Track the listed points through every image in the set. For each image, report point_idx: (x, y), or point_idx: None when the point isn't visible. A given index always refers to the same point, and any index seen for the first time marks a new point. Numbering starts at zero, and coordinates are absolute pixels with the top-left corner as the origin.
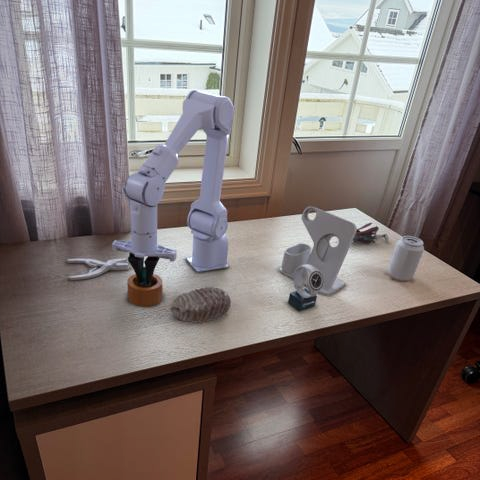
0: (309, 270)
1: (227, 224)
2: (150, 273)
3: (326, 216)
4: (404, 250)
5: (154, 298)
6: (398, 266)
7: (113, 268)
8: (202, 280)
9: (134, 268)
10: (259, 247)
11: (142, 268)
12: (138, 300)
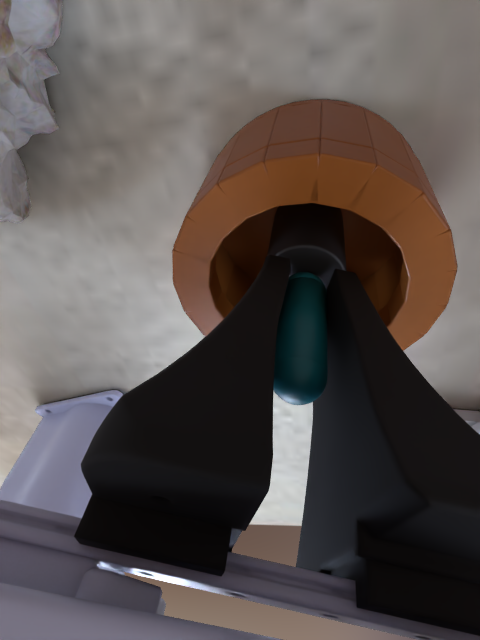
0: None
1: None
2: (227, 320)
3: None
4: None
5: (229, 151)
6: None
7: (463, 416)
8: (80, 349)
9: (415, 383)
10: (14, 462)
11: (320, 387)
12: (356, 119)
